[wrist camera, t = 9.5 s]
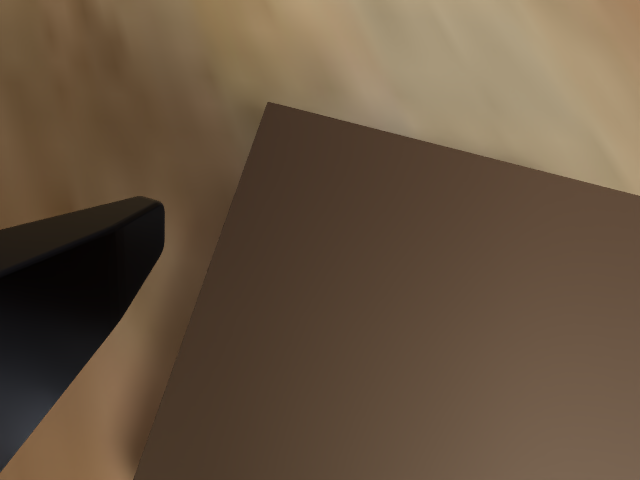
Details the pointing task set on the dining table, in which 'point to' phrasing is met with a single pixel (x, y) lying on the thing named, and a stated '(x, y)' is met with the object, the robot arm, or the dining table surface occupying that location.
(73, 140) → the dining table surface
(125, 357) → the dining table surface
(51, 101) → the dining table surface
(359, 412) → the slot cleaner tool
